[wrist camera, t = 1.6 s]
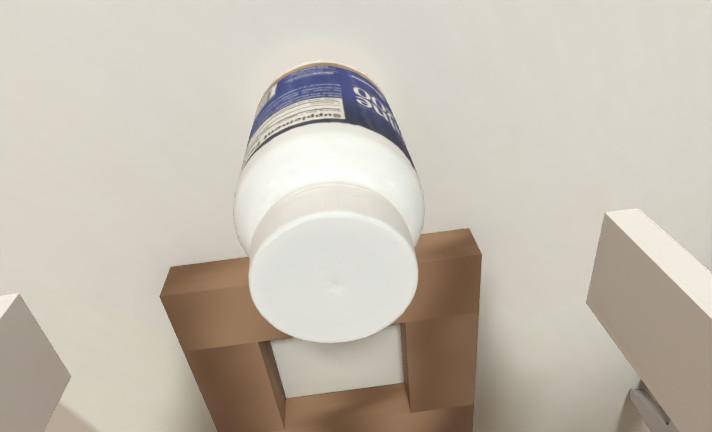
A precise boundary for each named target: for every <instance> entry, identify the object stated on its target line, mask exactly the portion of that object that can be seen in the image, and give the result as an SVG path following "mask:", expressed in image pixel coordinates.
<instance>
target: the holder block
mask: <svg viewBox="0 0 712 432" xmlns="http://www.w3.org/2000/svg"><path fill="white" fill-rule="evenodd" d="M414 250H415V254H416V259H417V264H418V283H417V288H416V292H415V295H414V297H413V299H412V301H411V303H410V304H409V306H408V307H407V308H406V310H405V311H404V313H403V314H402V315H401V316H400V317H399V318H397V319H396V320H395V321H394V322H393V323H391V324H397V323H401V333H402V348H403V363H404V377H405V383H400V384H393V385H385V386H378V387H370V388H363V389H355V390H348V391H340V392H333V393H325V394H318V395H311V396H303V397H296V398H288V399H286V397H285V394H284V390H283V387H282V383H281V380H280V376H279V373H278V369H277V366H276V362H275V359H274V355H273V351H272V348H271V344H270V341H269V340H276V339H284V338H291V337H293V336H290V335H288V334H286V333H284V332H282V331H280V330H278V329H277V328H275V327H274V326H273V325H272V324H270V323H269V322H268V321H267V320H266V319H265V318H264V317H263V316H262V315H261V314H260V312H259V311H258V309H257V308H256V306H255V304H254V302H253V300H252V297H251V294H250V289H249V278H248V273H249V264H250V258H249V257H245V258H237V259H229V260H222V261H214V262H206V263H199V264H191V265H183V266H175V267H171V268H170V270H169V273H168V275H167V278H166V281H165V283H164V286H163V289H162V291H161V294H160V299H161V301H162V303H163V306H164V308H165V310H166V312H167V315H168V317H169V319H170V322H171V324H172V326H173V329H174V331H175V333H176V336H177V338H178V340H179V343H180V345H181V347H182V349H183V352H184V354H185V356H186V359H187V361H188V363H189V366H190V368H191V370H192V373H193V375H194V377H195V380H196V382H197V384H198V387H199V389H200V391H201V393H202V396H203V398H204V400H205V403H206V405H207V407H208V410H209V412H210V414H211V417H212V419H213V421H214V424H215V426H216V428H217V430H218V432H472V428H473V409H474V391H475V372H476V353H477V335H478V316H479V297H480V279H481V260H482V254H481V252H480V250H479V248H478V246H477V244H476V242H475V240H474V237H473V235H472V233H471V231H470V229H461V230H453V231H445V232H438V233H430V234H422V235H420V237H419V240H418V242H417V244H416V246H415V248H414Z"/></svg>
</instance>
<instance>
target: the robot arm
mask: <svg viewBox="0 0 712 432" xmlns="http://www.w3.org/2000/svg"><path fill="white" fill-rule="evenodd" d="M586 304H587V305H588V306H589V308H590V309H591V311H592V312H593V313H594V315H595V316H596V317H597V319H598V320H599V322H600V323H601V324H602V326H603V327H604V328H605V330H606V331H607V333H608V334H609V335H610V337H611V338H612V339H613V341H614V342H615V344H616V345H617V346H618V348H619V349H620V351H621V352H622V353H623V355H624V356H625V357H626V359H627V360H628V362H629V363H630V364H631V366H632V367H633V368H634V370H635V371H636V373H637V374H638V375H639V377H640V378H641V379H642V381H643V382H644V384H645V385H646V386H647V388H648V389H649V391H650V392H651V393H652V395H653V396H654V397H655V399H656V400H657V402H658V403H659V404H660V406H661V407H662V408H663V410H664V411H665V413H666V414H667V415H668V417H669V418H670V420H671V421H672V422H673V424H674V425H675V426H676V428H677V429H678V431H679V432H712V273H711V272H710V271H709V270H708V269H706V268H705V267H704V266H703V265H702V264H701V263H700V262H698V261H697V260H696V259H695V258H694V257H693V256H692V255H691V254H689V253H688V252H687V251H686V250H685V249H684V248H683V247H682V246H680V245H679V244H678V243H677V242H676V241H675V240H674V239H672V238H671V237H670V236H669V235H668V234H667V233H666V232H665V231H663V230H662V229H661V228H660V227H659V226H658V225H657V224H655V223H654V222H653V221H652V220H651V219H650V218H649V217H648V216H646V215H645V214H644V213H643V212H642V211H641V210H640V209H639V208H634V209H627V210H620V211H612V212H605V214H604V219H603V224H602V229H601V233H600V238H599V243H598V248H597V253H596V258H595V262H594V267H593V272H592V277H591V282H590V287H589V291H588V296H587V301H586ZM70 378H71V375H70V373H69V372H68V370H67V369H66V367H65V366H64V364H63V362H62V361H61V359H60V358H59V356H58V354H57V353H56V351H55V350H54V348H53V346H52V345H51V343H50V342H49V340H48V338H47V337H46V335H45V334H44V332H43V330H42V329H41V327H40V326H39V324H38V322H37V321H36V319H35V318H34V316H33V315H32V313H31V311H30V310H29V308H28V307H27V305H26V303H25V302H24V300H23V299H22V297H21V295H20V294H19V293H17V294H10V295H3V296H0V432H44V430H45V428H46V426H47V424H48V422H49V420H50V418H51V416H52V414H53V412H54V410H55V408H56V406H57V404H58V402H59V400H60V398H61V396H62V394H63V392H64V390H65V388H66V386H67V384H68V382H69V380H70Z"/></svg>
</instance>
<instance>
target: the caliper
mask: <svg viewBox="0 0 712 432" xmlns="http://www.w3.org/2000/svg"><path fill="white" fill-rule="evenodd" d="M630 399H631V401H632V403H633V404H634V406H635V408H636V409H637V411H638V412H639V414H640V415H641V417H642V418H643V420H644V421H645V423H646V424H647V426H648V427H649V429H650V431H651V432H679V431H678V429H677V428H676V426H675V425H674V424H673V422H672V421H671V420H670V418H669V417H668V415H667V414H666V413H665V411H664V410H663V408H662V407H661V406H660V405H659V404H658V403H657V402H656V401H655V400H654V399H653V398H652V397H651V396H650V395H649V394H648V393H647V392H646V391H645V390H633V389H631V390H630Z"/></svg>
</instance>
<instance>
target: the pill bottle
mask: <svg viewBox="0 0 712 432" xmlns="http://www.w3.org/2000/svg"><path fill="white" fill-rule="evenodd" d="M424 214H425V209H424V197H423V193H422V188H421V185H420V181H419V177H418V174H417V172H416V169H415V167H414V165H413V162H412V160H411V157H410V155H409V153H408V150H407V148H406V145H405V142H404V140H403V137H402V135H401V132H400V130H399V127H398V125H397V122H396V120H395V118H394V116H393V113H392V111H391V109H390V107H389V104H388V103H387V100H386V98H385V96H384V95H383V93H382V91H381V90H380V88H379V87H378V86H377V84H376V83H375V82H374V81H373V80H372V79H371V78H370V77H369V76H368V75H366V74H365V73H363V72H362V71H361V70H359V69H357V68H355V67H353V66H351V65H348V64H345V63H342V62H338V61H330V60H314V61H309V62H305V63H302V64H299V65H296V66H294V67H292V68H290V69H288V70H286V71H285V72H283V73H282V74H281V75H279V76H278V77H277V78H276V79H275V80H274V81H273V82H272V83H271V84H270V85H269V87H268V88H267V89H266V91H265V92H264V94H263V96H262V98H261V101H260V103H259V105H258V108H257V111H256V115H255V119H254V122H253V126H252V130H251V133H250V136H249V141H248V145H247V149H246V153H245V156H244V160H243V164H242V168H241V172H240V176H239V180H238V183H237V187H236V191H235V196H234V207H233V216H234V224H235V229H236V232H237V236H238V238H239V241H240V243H241V245H242V247H243V249H244V251H245V253H246V254H247V256H248V257H249V258H250V264H249V273H248V278H249V289H250V294H251V297H252V300H253V302H254V304H255V306H256V308H257V309H258V311H259V312H260V314H261V315H262V316H263V317H264V318H265V319H266V320H267V321H268V322H269V323H270V324H272V325H273V326H274V327H275V328H277V329H278V330H280V331H282V332H284V333H286V334H288V335H290V336H293V337H295V338H298V339H301V340H305V341H310V342H316V343H342V342H349V341H355V340H359V339H362V338H365V337H368V336H370V335H373V334H375V333H377V332H379V331H381V330H382V329H384V328H386V327H387V326H389V325H390V324H391V323H393V322H394V321H395V320H396V319H397V318H399V317H400V316H401V315H402V314H403V313H404V311H405V310H406V308H407V307H408V306H409V304H410V303H411V301H412V299H413V297H414V295H415V292H416V288H417V283H418V264H417V259H416V254H415V250H414V248H415V246H416V244H417V242H418V240H419V237H420V234H421V231H422V228H423V223H424Z"/></svg>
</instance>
